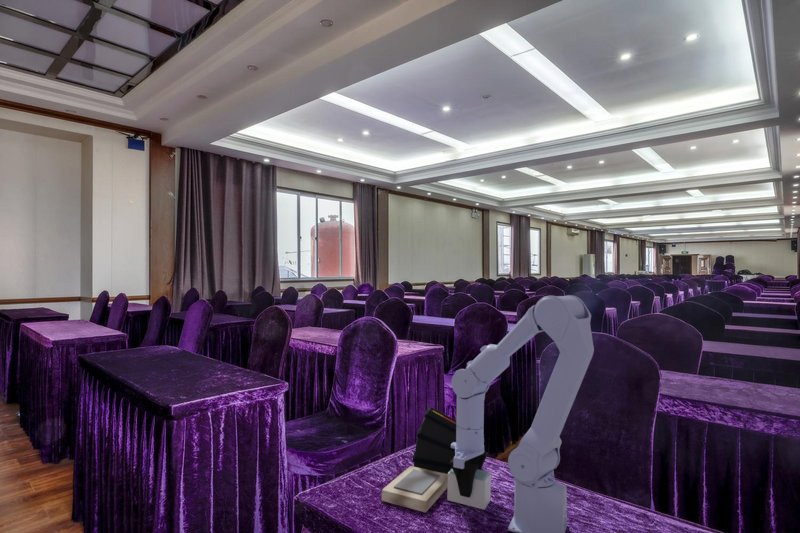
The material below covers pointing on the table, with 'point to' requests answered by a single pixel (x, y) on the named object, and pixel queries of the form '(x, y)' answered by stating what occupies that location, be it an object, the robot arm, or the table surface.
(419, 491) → the stand
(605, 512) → the table surface
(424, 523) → the table surface
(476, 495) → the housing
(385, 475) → the table surface
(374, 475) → the table surface
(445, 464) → the magazine
